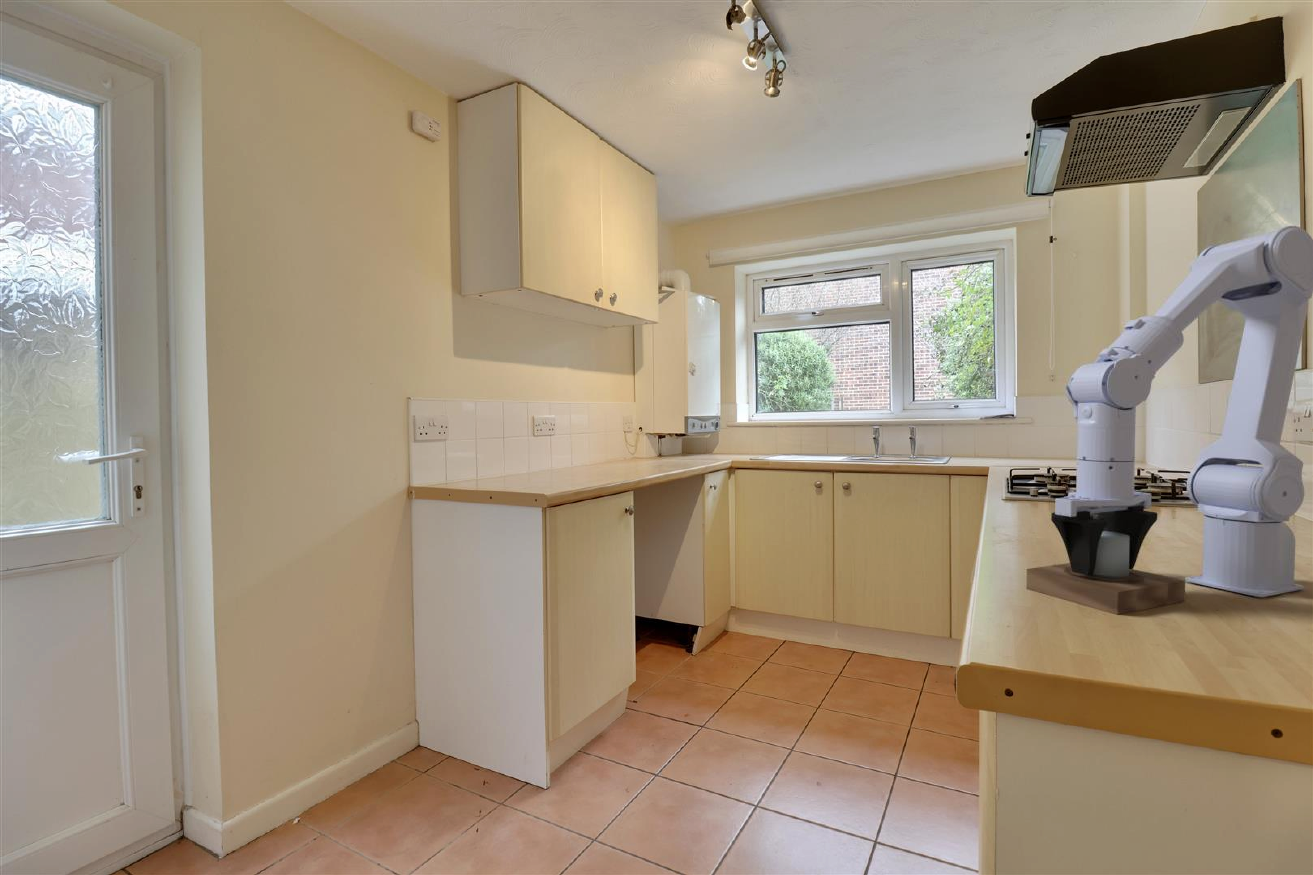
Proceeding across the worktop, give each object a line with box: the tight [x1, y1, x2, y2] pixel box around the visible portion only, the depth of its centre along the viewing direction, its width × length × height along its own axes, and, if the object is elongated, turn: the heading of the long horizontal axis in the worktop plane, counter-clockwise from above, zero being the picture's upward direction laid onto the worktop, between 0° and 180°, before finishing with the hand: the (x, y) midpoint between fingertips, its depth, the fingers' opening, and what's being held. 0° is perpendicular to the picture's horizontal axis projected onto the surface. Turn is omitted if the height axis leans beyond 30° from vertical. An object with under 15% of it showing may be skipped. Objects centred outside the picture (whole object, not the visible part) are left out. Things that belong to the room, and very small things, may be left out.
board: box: [1026, 562, 1186, 615], centre depth 76 cm, size 12×11×2 cm
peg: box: [1082, 531, 1130, 580], centre depth 76 cm, size 5×5×7 cm
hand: (1102, 570), depth 76 cm, fingers open, 7 cm apart
